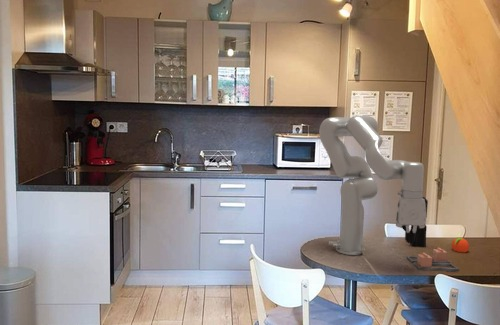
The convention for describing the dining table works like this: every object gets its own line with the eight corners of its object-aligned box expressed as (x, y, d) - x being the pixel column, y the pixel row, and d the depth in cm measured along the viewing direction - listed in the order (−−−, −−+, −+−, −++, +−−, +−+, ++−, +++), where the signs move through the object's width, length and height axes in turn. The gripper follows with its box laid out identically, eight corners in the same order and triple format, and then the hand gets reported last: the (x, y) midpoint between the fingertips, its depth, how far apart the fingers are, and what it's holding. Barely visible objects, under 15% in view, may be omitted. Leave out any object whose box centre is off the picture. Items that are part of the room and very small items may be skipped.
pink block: (420, 268, 172) (421, 255, 171) (416, 265, 176) (417, 252, 175) (431, 269, 172) (432, 255, 171) (427, 265, 176) (428, 252, 175)
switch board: (408, 274, 169) (409, 268, 169) (394, 259, 186) (394, 254, 186) (472, 276, 169) (473, 270, 169) (452, 261, 186) (452, 256, 186)
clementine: (461, 257, 192) (463, 241, 192) (446, 253, 198) (447, 237, 197) (471, 254, 197) (472, 238, 196) (456, 250, 203) (457, 234, 202)
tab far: (436, 263, 179) (437, 250, 179) (432, 259, 183) (433, 247, 183) (446, 263, 179) (447, 250, 179) (442, 260, 183) (443, 247, 183)
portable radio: (426, 250, 201) (431, 194, 198) (412, 248, 202) (416, 193, 199) (423, 245, 209) (427, 191, 206) (409, 244, 210) (413, 191, 207)
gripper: (395, 196, 167) (392, 244, 168) (435, 196, 167) (433, 245, 168) (388, 192, 174) (386, 239, 176) (427, 193, 174) (425, 240, 176)
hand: (409, 242), depth 172 cm, fingers closed
